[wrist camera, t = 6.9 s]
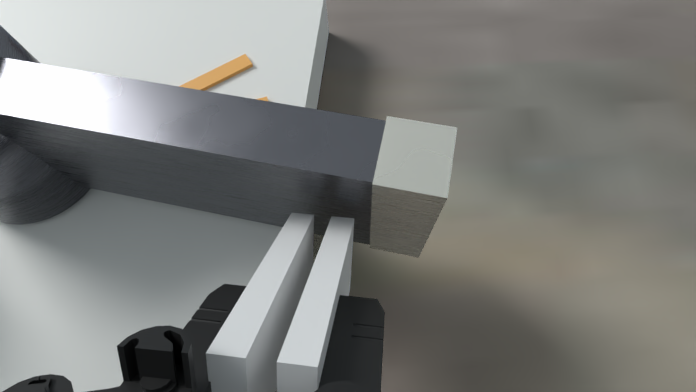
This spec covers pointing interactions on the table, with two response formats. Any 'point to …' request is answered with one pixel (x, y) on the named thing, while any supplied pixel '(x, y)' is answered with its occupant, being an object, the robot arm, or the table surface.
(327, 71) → the table surface
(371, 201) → the dark grey lever
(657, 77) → the table surface
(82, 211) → the instrument base
